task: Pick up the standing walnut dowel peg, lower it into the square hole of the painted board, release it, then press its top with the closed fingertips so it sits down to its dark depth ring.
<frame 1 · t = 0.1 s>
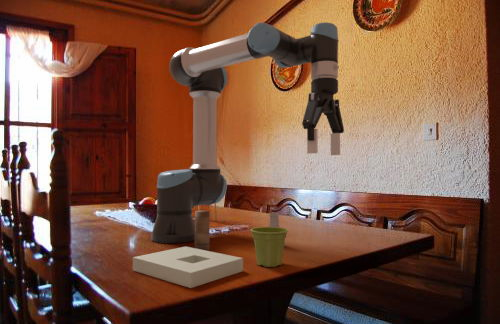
hand: (324, 154, 103), 28 cm above the table, fingers open, 13 cm apart
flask: (274, 246, 113), on the table
plant pot: (269, 265, 91), on the table
board: (187, 270, 85), on the table
peg: (201, 255, 100), on the table
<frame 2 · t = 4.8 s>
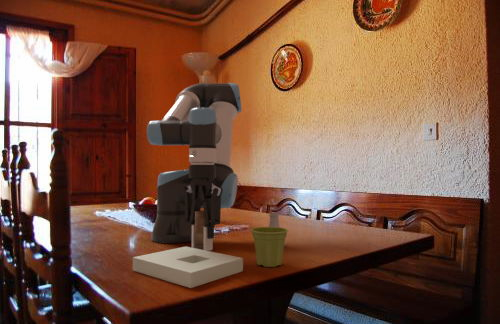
hand: (201, 248, 100), 2 cm above the table, fingers closed on peg, 4 cm apart
peg: (201, 255, 100), on the table, touching gripper
everything else where it was.
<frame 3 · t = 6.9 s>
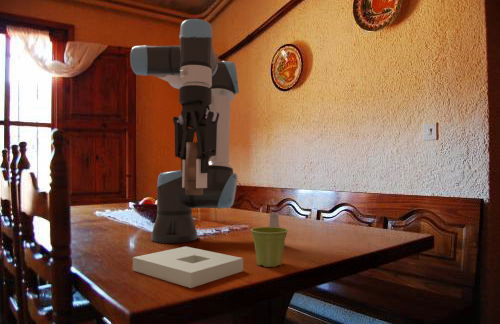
hand: (194, 187, 85), 19 cm above the table, fingers closed on peg, 4 cm apart
peg: (194, 194, 85), point 18 cm above the table, touching gripper
everything else where it was.
when the fingers open (4 cm above the table, at t = 9.3 s): peg drops 2 cm, resting in board.
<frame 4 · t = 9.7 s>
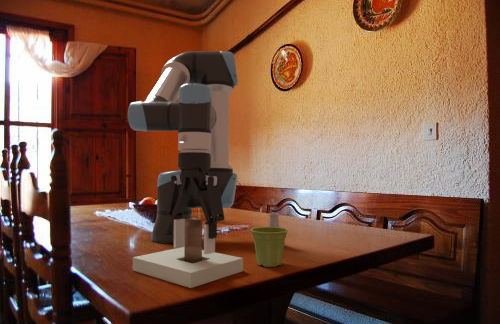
hand: (193, 249, 84), 5 cm above the table, fingers open, 9 cm apart
peg: (193, 272, 83), resting in board
everything else where it was.
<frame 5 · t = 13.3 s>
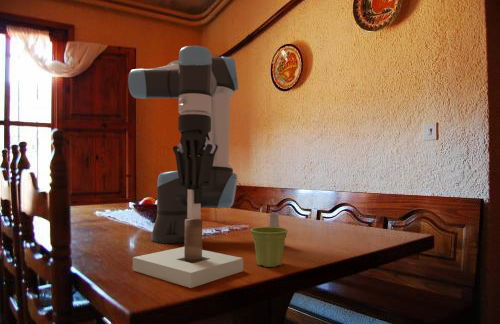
hand: (193, 217, 84), 12 cm above the table, fingers closed
nothing on the table moved.
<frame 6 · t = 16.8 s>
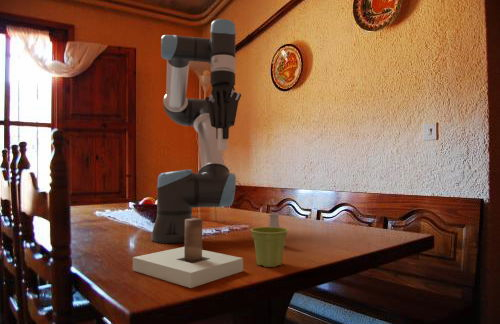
hand: (222, 150, 110), 29 cm above the table, fingers closed
nothing on the table moved.
at the end: peg 0.1 cm from the target spot on the board, point 0.0 cm above the board's base; peg tilted 0°; the gripper is holding nothing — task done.
